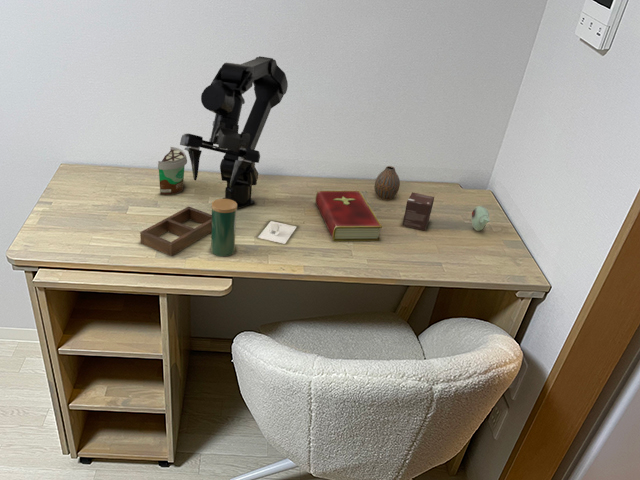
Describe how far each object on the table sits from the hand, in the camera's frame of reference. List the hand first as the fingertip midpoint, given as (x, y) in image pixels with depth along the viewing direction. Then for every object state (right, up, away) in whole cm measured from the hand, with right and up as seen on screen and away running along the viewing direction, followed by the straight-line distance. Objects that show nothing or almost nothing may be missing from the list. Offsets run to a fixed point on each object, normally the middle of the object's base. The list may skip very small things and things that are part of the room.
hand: (213, 184), depth 148 cm
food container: (-12, +3, +24) cm, 27 cm away
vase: (+48, +1, +27) cm, 55 cm away
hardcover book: (+34, -8, +13) cm, 37 cm away
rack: (-8, -12, +2) cm, 15 cm away
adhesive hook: (+16, -11, +6) cm, 20 cm away
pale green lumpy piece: (+68, -10, +12) cm, 70 cm away
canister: (+2, -16, -3) cm, 17 cm away
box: (+53, -8, +13) cm, 55 cm away
